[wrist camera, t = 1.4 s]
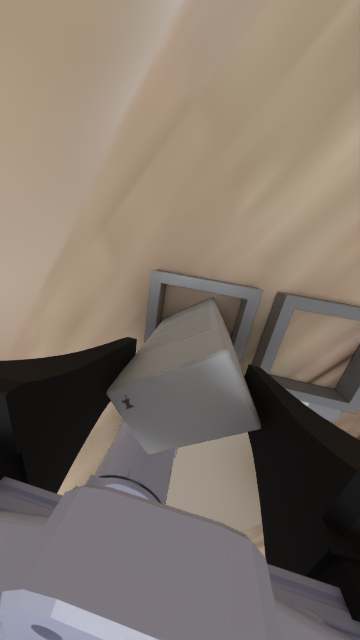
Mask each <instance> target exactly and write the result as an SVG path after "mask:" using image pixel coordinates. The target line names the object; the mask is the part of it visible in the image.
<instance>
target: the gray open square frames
mask: <svg viewBox="0 0 360 640" xmlns="http://www.w3.org/2000/svg"><path fill="white" fill-rule="evenodd" d="M166 284H169V285H174V286H180V287H185V288H190V289H195V290H201V291H206V292H211V293H216V294H222V295H227V296H232V297H237V298H243V299H242V303H241V306H240V310H239V313H238V317H237V320H236V324H235V327H234V330H233V334H232V337H231V341H232V344H233V347H234V350H235V353H236V356H237V358H238V361H239V363H240V360H241V357H242V354H243V351H244V348H245V345H246V342H247V339H248V335H249V332H250V329H251V326H252V323H253V320H254V317H255V314H256V311H257V307H258V304H259V301H260V298H261V295H262V292H263V290H261V289H258V288H255V287H250V286H244V285H239V284H233V283H228V282H222V281H217V280H211V279H206V278H200V277H195V276H189V275H184V274H178V273H173V272H168V271H162V270H152V274H151V283H150V292H149V302H148V311H147V320H146V329H145V338H144V343H145V342H146V341H147V340H148V338H149V337H150V336H151V334H152V333H153V332H154V331H155V329H156V328H157V327H158V326H159V324H160V321H161V314H162V307H163V299H164V292H165V285H166ZM294 309H301V310H306V311H311V312H316V313H322V314H327V315H332V316H338V317H343V318H348V319H353V320H359V321H360V307H359V306H354V305H348V304H343V303H337V302H332V301H326V300H321V299H315V298H310V297H304V296H299V295H293V294H288V293H283V292H278V293H277V295H276V298H275V301H274V304H273V307H272V310H271V313H270V315H269V318H268V321H267V324H266V327H265V330H264V333H263V335H262V338H261V341H260V344H259V347H258V350H257V353H256V356H255V358H254V361H253V364H252V365H254V366H258V367H260V368H262V369H263V370H264V371H265V372H267V373H268V374H269V372H270V370H271V367H272V365H273V362H274V360H275V357H276V354H277V352H278V349H279V347H280V344H281V342H282V339H283V337H284V334H285V332H286V329H287V327H288V324H289V321H290V319H291V316H292V314H293V311H294ZM270 376H271V377H272V378H274V379H275V380H276V381H277V382H278V383H279V384H280V385H282V386H283V387H284V388H285V389H286V390H287V391H289V392H290V393H291V394H292V395H293V396H295V397H296V398H297V399H298V400H300V401H301V402H302V403H304V404H305V405H306V406H308V407H309V408H310V409H312V410H313V411H315V412H316V413H317V414H319V415H320V416H322V417H323V418H324V419H326V420H330V421H334V422H336V421H337V419H338V417H339V416H340V414H341V412H342V411H345V412H349V413H353V414H356V412H357V411H358V409H359V408H360V346H359V347H358V349H357V351H356V353H355V354H354V356H353V358H352V360H351V362H350V363H349V365H348V367H347V369H346V371H345V372H344V374H343V376H342V378H341V380H340V381H339V383H338V385H337V387H336V388H335V390H334V389H330V388H326V387H321V386H317V385H313V384H308V383H304V382H299V381H295V380H291V379H286V378H282V377H278V376H273V375H270Z"/></svg>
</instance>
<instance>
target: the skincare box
mask: <svg viewBox="0 0 360 640" xmlns="http://www.w3.org/2000/svg"><path fill="white" fill-rule="evenodd" d="M106 394H107V396H108V397H109V399H110V400H111V401H112V403H113V404H114V406H115V407H116V409H117V410H118V412H119V413H120V415H121V416H122V418H123V419H124V421H125V422H126V424H127V425H128V427H129V428H130V430H131V431H132V433H133V434H134V436H135V437H136V439H137V440H138V442H139V443H140V445H141V446H142V447H143V449H144V450H145V451H146V453H147V454H154V453H158V452H161V451H165V450H170V449H174V448H178V447H182V446H187V445H191V444H196V443H201V442H205V441H210V440H214V439H218V438H222V437H227V436H231V435H236V434H241V433H245V432H249V431H254V430H259V429H261V423H260V420H259V417H258V414H257V411H256V408H255V406H254V403H253V400H252V397H251V394H250V392H249V389H248V386H247V383H246V381H245V378H244V375H243V372H242V369H241V367H240V364H239V361H238V358H237V356H236V353H235V350H234V347H233V344H232V341H231V338H230V335H229V332H228V330H227V328H226V325H225V323H224V320H223V318H222V316H221V313H220V311H219V309H218V306H217V304H216V302H215V300H214V298H213V297H212V298H210V299H207V300H205V301H203V302H200V303H198V304H196V305H194V306H192V307H189V308H187V309H185V310H182V311H180V312H178V313H176V314H174V315H171V316H169V317H167V318H165V319H163V321H162V322H161V323H160V324H159V326H158V327H157V328H156V329H155V331H154V332H153V333H152V334H151V336H150V337H149V338H148V340H147V341H146V342H145V343H144V345H143V346H142V347H141V348H140V350H139V351H138V352H137V353H136V355H135V356H134V357H133V358H132V360H131V361H130V362H129V363H128V364H127V366H126V367H125V368H124V369H123V371H122V372H121V373H120V374H119V376H118V377H117V378H116V380H115V381H114V382H113V383H112V385H111V386H110V387H109V389H108V390H107V392H106Z"/></svg>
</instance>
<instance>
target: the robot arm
mask: <svg viewBox="0 0 360 640" xmlns="http://www.w3.org/2000/svg"><path fill="white" fill-rule="evenodd" d="M136 343H137V339H134V338H130V337H126V338H122V339H119V340H116V341H113V342H110V343H107V344H104V345H101V346H98V347H94V348H91V349H87V350H84V351H80V352H75V353H70V354H65V355H59V356H52V357H45V358H37V359H26V360H11V361H0V640H360V440H358V439H356V438H355V437H353V436H351V435H350V434H348V433H346V432H345V431H343V430H342V429H340V428H338V427H337V426H335V425H334V424H332V423H331V422H329V421H327V420H326V419H324V418H323V417H322V416H320V415H319V414H317V413H316V412H315V411H313V410H312V409H310V408H309V407H308V406H306V405H305V404H304V403H302V402H301V401H300V400H298V399H297V398H296V397H295V396H293V395H292V394H291V393H290V392H289V391H287V390H286V389H285V388H284V387H283V386H282V385H280V384H279V383H278V382H277V381H276V380H275V379H274V378H272V377H271V376H270V375H269V374H268V373H267V372H265V371H264V370H263V369H262V368H260V367H258V366H254V365H248V368H247V371H246V374H245V377H244V378H245V381H246V383H247V386H248V389H249V392H250V394H251V397H252V400H253V403H254V406H255V408H256V411H257V414H258V417H259V420H260V423H261V429H259V430H254V431H249V432H248V435H249V439H250V443H251V447H252V452H253V457H254V464H255V469H256V476H257V484H258V491H259V498H260V506H261V516H262V525H263V534H264V545H265V556H266V558H265V557H264V556H263V555H262V553H261V552H260V551H259V550H258V549H257V547H256V546H255V545H254V544H253V543H252V541H251V540H250V539H249V538H248V537H247V536H246V535H245V534H243V533H241V532H239V531H237V530H235V529H233V528H231V527H229V526H227V525H225V524H223V523H221V522H218V521H214V520H211V519H208V518H205V517H202V516H199V515H196V514H192V513H189V512H186V511H183V510H180V509H176V508H174V507H170V506H167V505H165V504H166V499H167V493H168V487H169V482H170V476H171V471H172V465H173V459H174V458H175V457H176V453H177V449H178V448H174V449H170V450H165V451H161V452H158V453H154V454H147V453H146V451H145V450H144V449H143V447H142V446H141V445H140V443H139V442H138V440H137V439H136V437H135V436H134V434H133V433H132V431H131V430H130V428H129V427H128V425H127V424H126V422H125V421H124V422H123V424H122V426H121V428H120V430H119V432H118V433H117V435H116V437H115V439H114V441H113V443H112V444H111V446H110V448H109V450H108V452H107V454H106V455H105V457H104V459H103V461H102V463H101V465H100V467H99V468H98V470H97V472H96V474H95V476H93V475H91V476H90V478H89V479H88V481H87V483H86V485H83V486H80V487H78V486H76V487H74V488H73V489H72V490H70V491H68V492H65V493H64V495H63V496H62V495H59V494H57V492H58V490H59V488H60V487H61V485H62V483H63V481H64V479H65V477H66V475H67V473H68V471H69V469H70V468H71V466H72V464H73V462H74V460H75V459H76V457H77V455H78V453H79V451H80V449H81V448H82V446H83V444H84V442H85V441H86V439H87V437H88V436H89V434H90V432H91V430H92V429H93V427H94V425H95V424H96V422H97V420H98V419H99V417H100V415H101V414H102V412H103V411H104V409H105V408H106V406H107V405H108V404H109V402H110V401H111V400H110V399H109V397H108V396H107V394H106V392H107V390H108V389H109V387H110V386H111V385H112V383H113V382H114V381H115V380H116V378H117V377H118V376H119V374H120V373H121V372H122V371H123V369H124V368H125V367H126V366H127V364H128V363H129V362H130V361H131V360H132V358H133V357H134V356H135V354H136Z"/></svg>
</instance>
